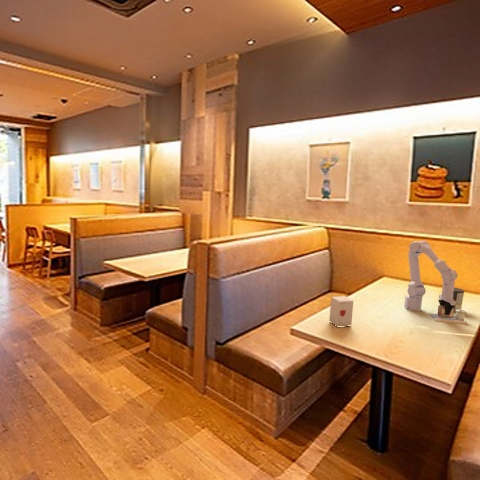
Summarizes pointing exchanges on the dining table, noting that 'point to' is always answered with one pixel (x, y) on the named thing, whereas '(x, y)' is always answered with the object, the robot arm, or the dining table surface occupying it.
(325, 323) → the dining table surface
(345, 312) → the supplement box
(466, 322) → the shelf board
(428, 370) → the dining table surface
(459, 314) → the celadon jar
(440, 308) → the tea box
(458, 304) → the coffee can
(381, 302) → the dining table surface
